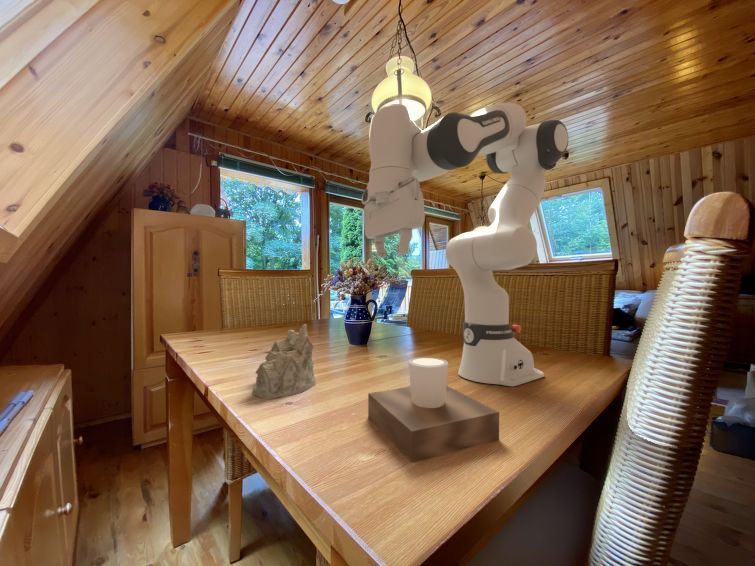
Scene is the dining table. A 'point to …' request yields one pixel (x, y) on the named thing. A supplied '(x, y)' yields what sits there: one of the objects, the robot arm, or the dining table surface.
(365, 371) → the dining table surface
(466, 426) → the walnut block
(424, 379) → the white cup
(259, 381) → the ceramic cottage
